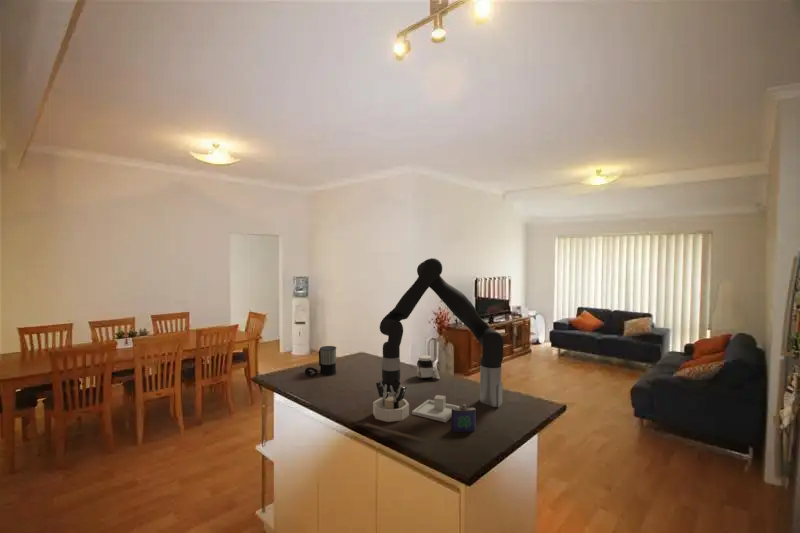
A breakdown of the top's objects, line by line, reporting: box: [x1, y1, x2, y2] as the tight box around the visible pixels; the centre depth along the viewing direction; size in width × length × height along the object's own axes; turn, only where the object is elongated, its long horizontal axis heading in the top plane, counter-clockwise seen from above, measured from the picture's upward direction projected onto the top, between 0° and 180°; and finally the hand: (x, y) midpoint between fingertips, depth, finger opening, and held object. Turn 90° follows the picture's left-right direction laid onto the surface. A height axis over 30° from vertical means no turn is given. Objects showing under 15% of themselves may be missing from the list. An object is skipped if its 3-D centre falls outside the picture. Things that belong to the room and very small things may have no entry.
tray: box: [411, 399, 461, 423], centre depth 156 cm, size 15×15×2 cm
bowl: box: [372, 397, 410, 423], centre depth 154 cm, size 14×14×5 cm
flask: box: [451, 403, 477, 433], centre depth 139 cm, size 9×3×11 cm, turn 95°
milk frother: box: [304, 345, 337, 377], centre depth 210 cm, size 14×16×15 cm
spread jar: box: [416, 354, 440, 381], centre depth 204 cm, size 12×11×12 cm
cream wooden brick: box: [384, 396, 394, 410], centre depth 154 cm, size 4×4×5 cm
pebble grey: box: [433, 394, 447, 411], centre depth 159 cm, size 4×4×5 cm
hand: (391, 408), depth 154 cm, fingers closed on cream wooden brick, 4 cm apart
